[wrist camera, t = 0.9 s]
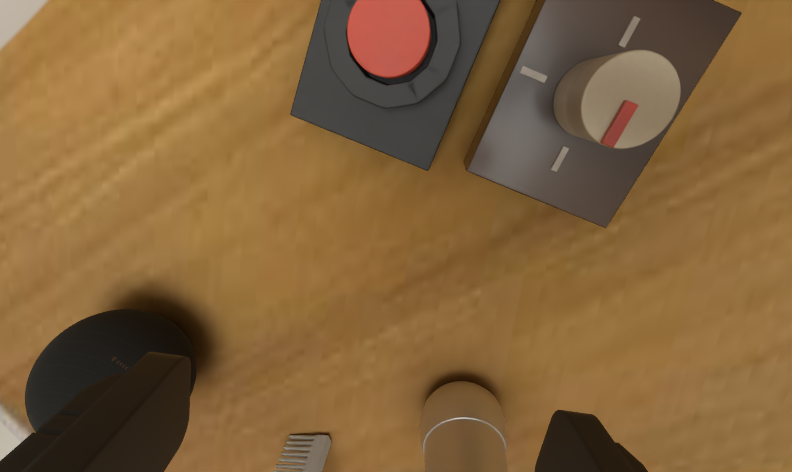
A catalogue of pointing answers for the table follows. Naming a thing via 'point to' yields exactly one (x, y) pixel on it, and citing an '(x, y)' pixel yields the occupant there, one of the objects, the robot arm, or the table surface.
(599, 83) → the lock dial
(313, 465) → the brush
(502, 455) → the plastic bottle
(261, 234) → the table surface
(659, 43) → the dial panel
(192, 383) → the speaker
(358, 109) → the button housing
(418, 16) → the red push button
